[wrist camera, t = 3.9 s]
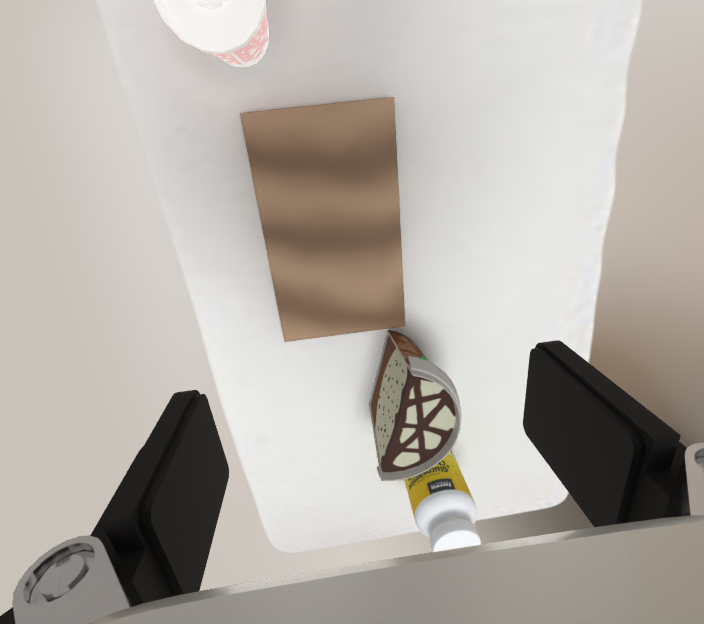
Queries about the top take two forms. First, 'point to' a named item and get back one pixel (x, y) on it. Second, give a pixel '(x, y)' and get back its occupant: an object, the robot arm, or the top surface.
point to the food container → (411, 411)
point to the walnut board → (330, 215)
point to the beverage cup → (220, 27)
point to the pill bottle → (444, 506)
